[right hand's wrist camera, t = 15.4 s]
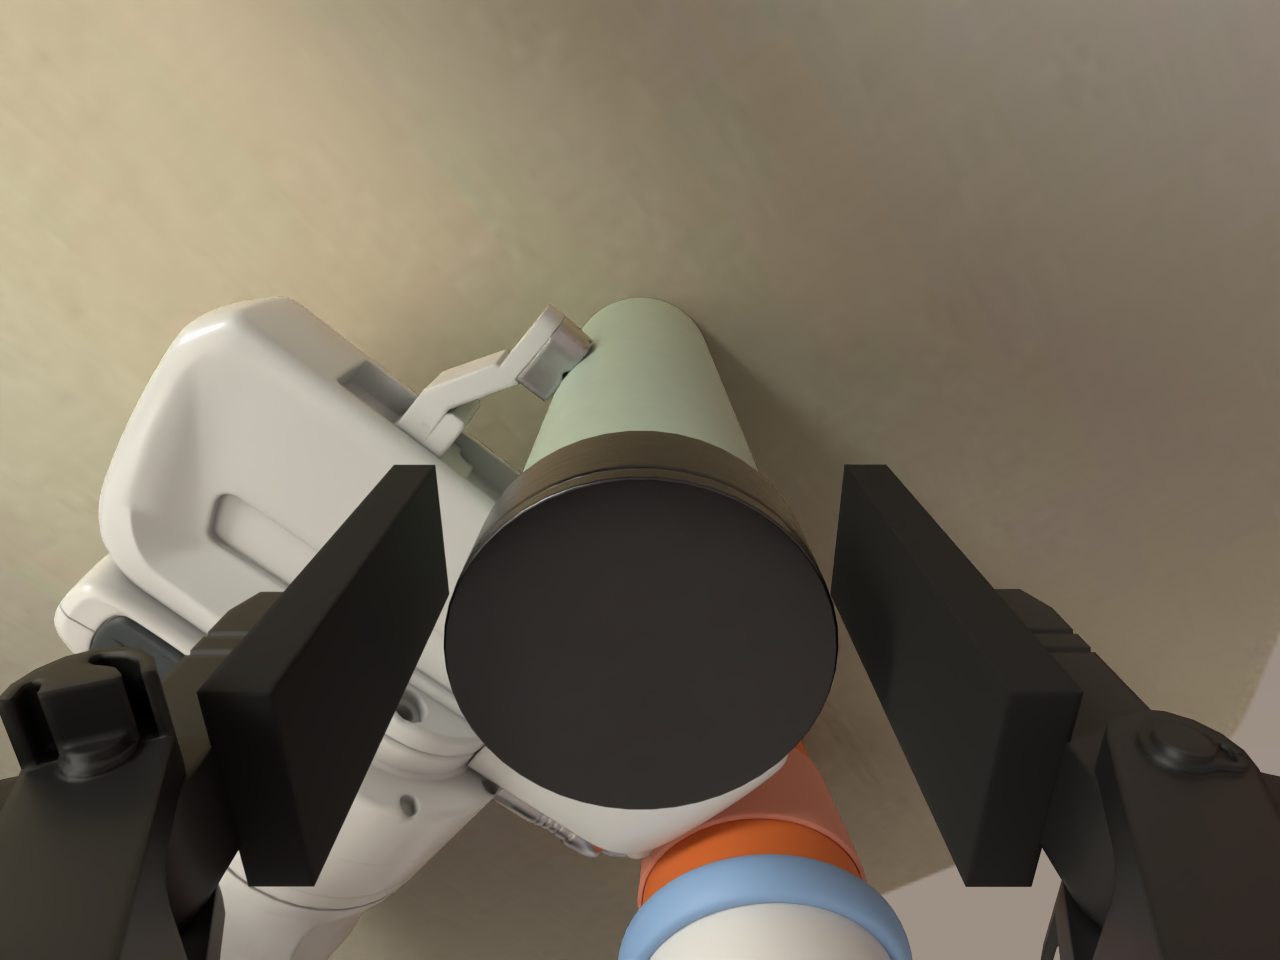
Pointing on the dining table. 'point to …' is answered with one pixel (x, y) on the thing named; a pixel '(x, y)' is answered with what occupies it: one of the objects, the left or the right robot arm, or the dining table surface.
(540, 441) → the pale green bottle
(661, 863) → the cup with straw
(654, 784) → the lid
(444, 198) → the dining table surface
